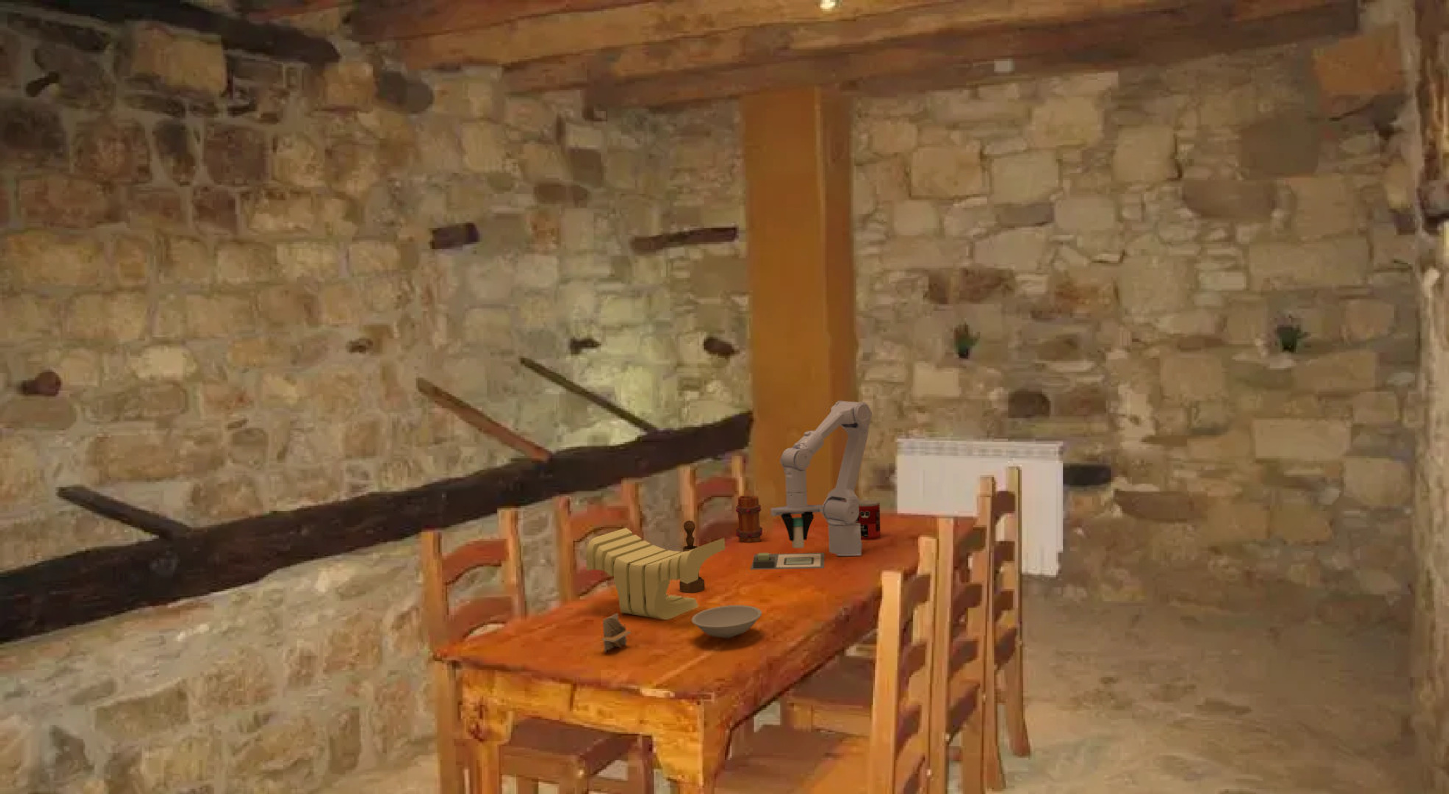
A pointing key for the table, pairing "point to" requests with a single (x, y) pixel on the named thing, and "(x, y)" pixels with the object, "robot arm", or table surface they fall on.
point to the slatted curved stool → (647, 572)
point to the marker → (798, 532)
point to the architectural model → (614, 632)
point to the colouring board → (790, 561)
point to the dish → (726, 620)
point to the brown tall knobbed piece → (689, 529)
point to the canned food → (869, 519)
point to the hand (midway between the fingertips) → (798, 539)
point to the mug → (748, 518)
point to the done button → (763, 557)
